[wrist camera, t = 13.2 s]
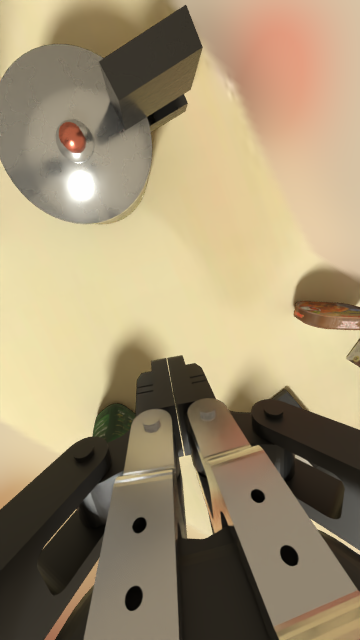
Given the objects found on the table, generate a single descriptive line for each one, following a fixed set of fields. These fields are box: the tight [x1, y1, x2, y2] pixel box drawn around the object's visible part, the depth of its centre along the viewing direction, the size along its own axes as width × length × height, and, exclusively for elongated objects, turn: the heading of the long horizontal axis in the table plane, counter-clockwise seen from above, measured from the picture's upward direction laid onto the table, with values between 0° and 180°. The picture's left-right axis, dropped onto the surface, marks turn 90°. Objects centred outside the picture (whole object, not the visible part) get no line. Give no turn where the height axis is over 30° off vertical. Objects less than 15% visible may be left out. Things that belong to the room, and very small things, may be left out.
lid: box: [0, 5, 203, 224], centre depth 25 cm, size 22×17×7 cm
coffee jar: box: [93, 404, 135, 443], centre depth 44 cm, size 10×8×19 cm
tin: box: [294, 301, 360, 330], centre depth 47 cm, size 15×3×8 cm, turn 85°
